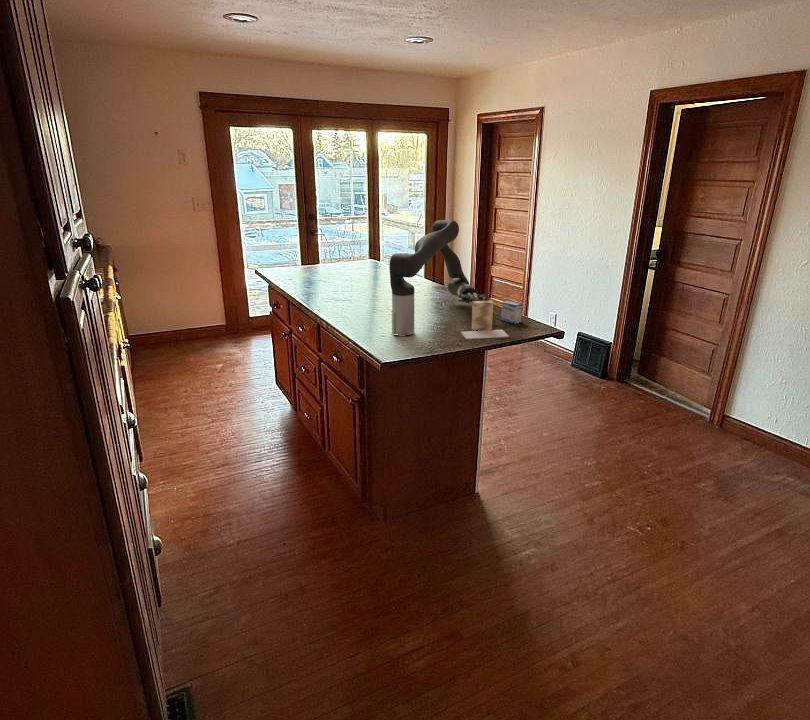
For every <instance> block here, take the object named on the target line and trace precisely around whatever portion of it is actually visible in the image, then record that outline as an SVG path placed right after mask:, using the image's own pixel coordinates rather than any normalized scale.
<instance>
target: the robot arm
mask: <svg viewBox="0 0 810 720" xmlns="http://www.w3.org/2000/svg"><path fill="white" fill-rule="evenodd" d="M459 231H460V226H459V223H458V221H455V220H453V219H444V220H443V219H441V220H436V221H434V222H433V224H432V232H430V233H427V234H425V235H422V237H421V238H419V239H418V240H417V241H416V243H415V244H414V253H399V252H398V253H396V252H395V253H393V254H392V255H391V257H390V260H389V280H390V289H391V333H392V332H393V333H392V335H393V334H398V335H411V334H413V335H414V334H415V287H414V285H413V284H411V283H409V282H408V281H406V280H405V278H407V279H408V278H413V277H415V276H417V274H418V273H419V272H420V271H421V269H422V268H423V266H424V265H425V264H427V263H428V262H429V261H430V259H431V258H433V257H434V256H435V255H437V254H438V253H439V252H440V254H441V255H442V258H443V260H444V263H445V267H446V271H447V274H448V277H449V278H450V279H453V280H451V281H449V282H448V284H447V290H448V291H449V293H450V294H451V295H453V296H456V297H458V302H462V303H465V304H472V303H473V301H486V293H485V294H484V293H483V294H479V293H478V291H477V290H476V288H474V287H473V286H472V285H471V284H470V281H469V280H468V278H467V276H466V275H465V274H464V271H463V267H462V263H461V261H460V258H459V257H458V255H457V254H456V252H454V250H452V248H451V247H450V246H449V245H448V244H450V243H451V242H453V241H455V240H456V239H457V238H458V235H459V233H460V232H459ZM411 336H412V335H411Z"/></svg>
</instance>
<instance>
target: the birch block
mask: <svg viewBox="0 0 810 720" xmlns="http://www.w3.org/2000/svg"><path fill="white" fill-rule="evenodd" d="M471 304H472V305H471V306H472V307H471V330H472V331H473V330H474V331H476V330H478V331H484V330H493V316H494V315H493V314H494V313H493V312H494V302H493V301H492V300H491V299H490V300H484V301H473V303H471Z"/></svg>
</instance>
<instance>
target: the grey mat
mask: <svg viewBox="0 0 810 720" xmlns="http://www.w3.org/2000/svg"><path fill="white" fill-rule="evenodd" d="M460 334H461V335H462V336H463V337H464V339H465V340H478V339H479V340H480V339H483V340H484V339H498V338H509V337H510V335H509V334H508V333H506V332H505V330H503V329H492V330H478V331H473V330H469V331H468V330H467V331H460Z"/></svg>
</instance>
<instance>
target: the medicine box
mask: <svg viewBox="0 0 810 720" xmlns="http://www.w3.org/2000/svg"><path fill="white" fill-rule="evenodd" d="M522 311H523V303H519V302H514V301H511V300H505V301H502V303H501V317H500V320H502V321H501V322H504V321H505V323H509V322H510V324H513V323H514V325H517V324H519V322H520V323H521V321H522ZM516 323H517V324H516Z"/></svg>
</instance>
